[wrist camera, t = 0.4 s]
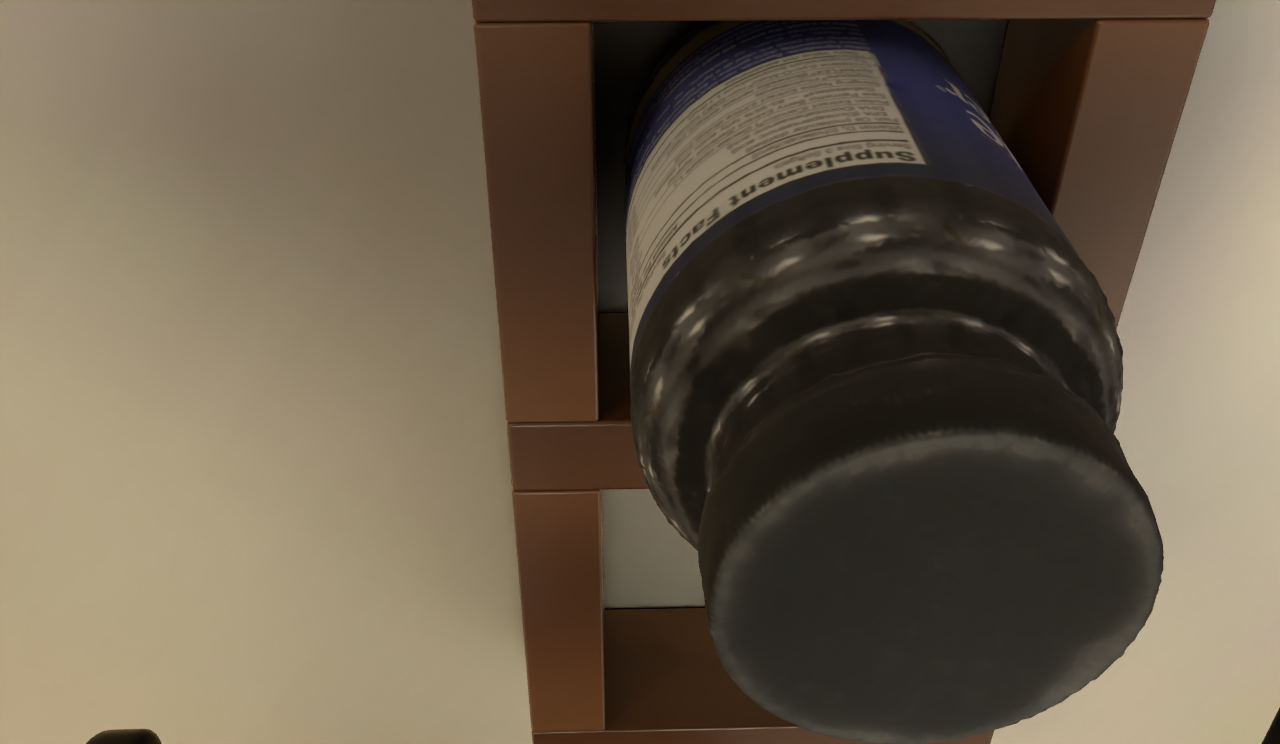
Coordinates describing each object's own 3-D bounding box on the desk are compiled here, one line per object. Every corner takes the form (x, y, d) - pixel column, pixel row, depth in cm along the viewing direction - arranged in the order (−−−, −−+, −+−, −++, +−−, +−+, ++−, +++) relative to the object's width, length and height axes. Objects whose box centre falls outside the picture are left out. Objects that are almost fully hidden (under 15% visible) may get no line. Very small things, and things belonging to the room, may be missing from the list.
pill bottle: (990, 229, 22) (1260, 713, 13) (688, 330, 23) (745, 837, 14) (918, -85, 18) (1220, 280, 9) (566, 52, 19) (539, 493, 11)
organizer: (946, 645, 29) (984, 766, 26) (541, 653, 29) (535, 776, 26) (1145, -161, 18) (1249, -102, 15) (484, -160, 17) (463, -100, 15)
